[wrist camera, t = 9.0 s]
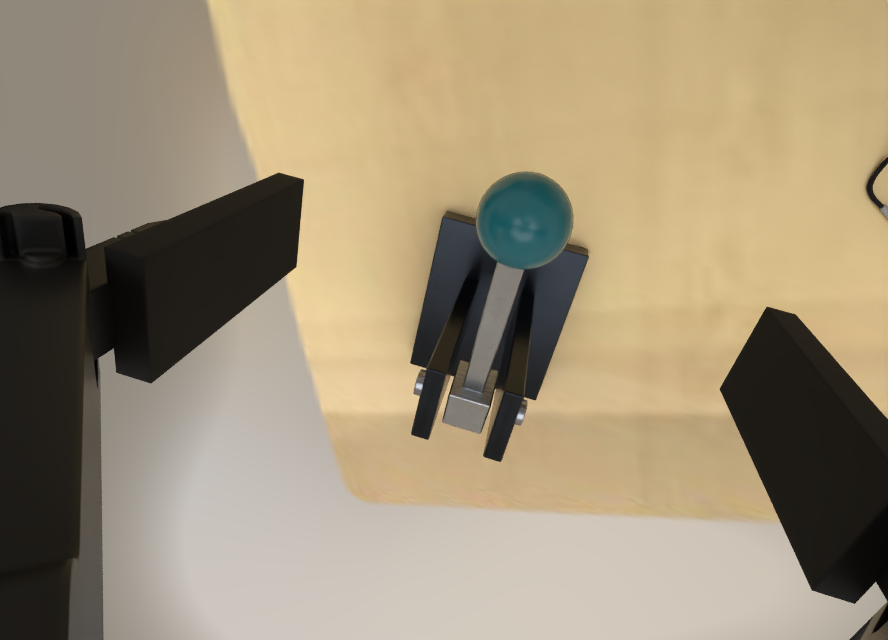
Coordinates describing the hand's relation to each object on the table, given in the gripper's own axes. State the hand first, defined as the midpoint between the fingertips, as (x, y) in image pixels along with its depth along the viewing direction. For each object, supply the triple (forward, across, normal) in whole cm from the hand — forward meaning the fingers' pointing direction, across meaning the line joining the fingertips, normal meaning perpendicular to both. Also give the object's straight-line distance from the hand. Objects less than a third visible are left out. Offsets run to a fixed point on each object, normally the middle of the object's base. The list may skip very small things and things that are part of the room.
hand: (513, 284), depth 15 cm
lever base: (+22, 0, -11) cm, 25 cm away
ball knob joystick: (+9, 0, -5) cm, 10 cm away
